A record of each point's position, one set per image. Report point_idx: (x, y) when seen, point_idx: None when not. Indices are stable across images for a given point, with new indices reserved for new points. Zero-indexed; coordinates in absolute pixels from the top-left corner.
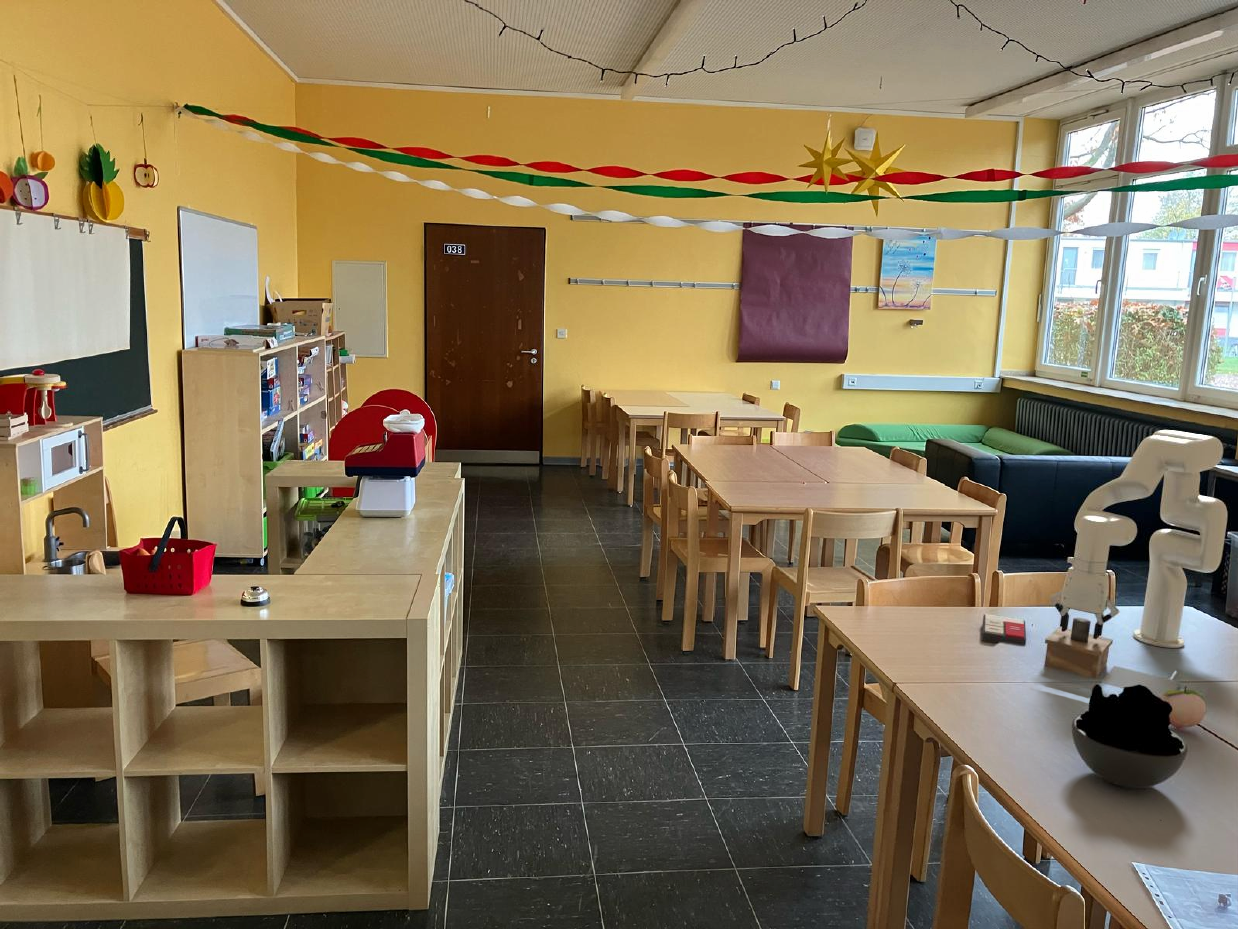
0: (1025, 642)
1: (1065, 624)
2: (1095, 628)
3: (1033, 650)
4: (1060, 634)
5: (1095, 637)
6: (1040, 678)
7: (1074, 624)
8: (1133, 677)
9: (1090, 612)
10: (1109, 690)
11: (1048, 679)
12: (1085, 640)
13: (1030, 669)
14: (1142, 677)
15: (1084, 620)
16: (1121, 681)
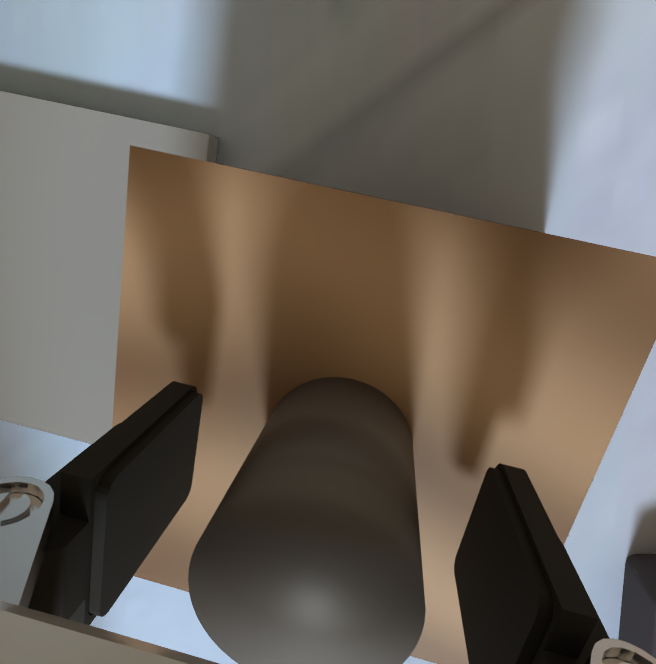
0: (647, 585)
1: (509, 522)
2: (129, 438)
3: (578, 546)
4: None
5: (174, 387)
6: (580, 40)
7: (400, 505)
8: (68, 335)
9: (28, 616)
10: (166, 95)
11: (524, 57)
12: (282, 403)
13: (634, 196)
14: (33, 360)
15: (269, 615)
16: (109, 228)
